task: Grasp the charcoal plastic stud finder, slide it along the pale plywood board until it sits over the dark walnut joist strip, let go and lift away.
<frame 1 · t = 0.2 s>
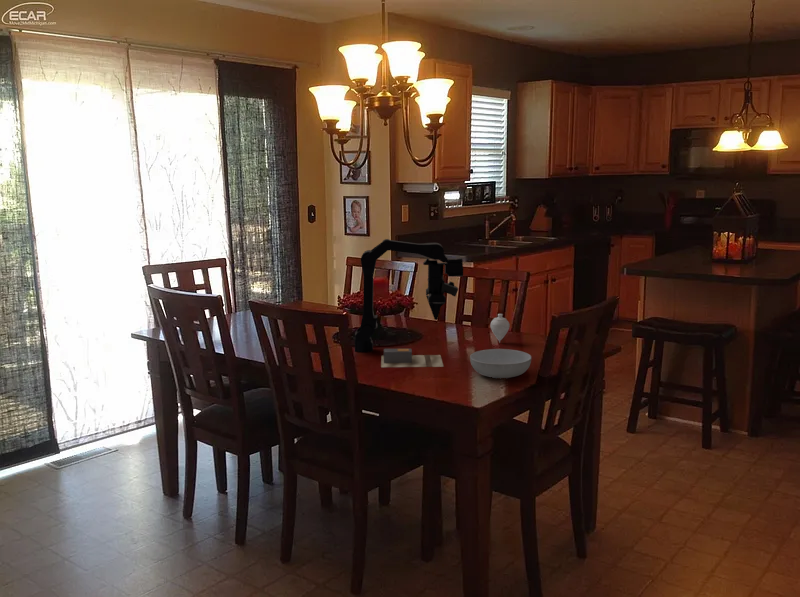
hand: (435, 317, 275), 14 cm above the table, fingers open, 9 cm apart
serving bowl: (500, 375, 249), on the table
stud finder: (397, 361, 262), point 1 cm above the table, touching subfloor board
spinning top: (499, 343, 295), on the table
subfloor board: (411, 364, 262), on the table
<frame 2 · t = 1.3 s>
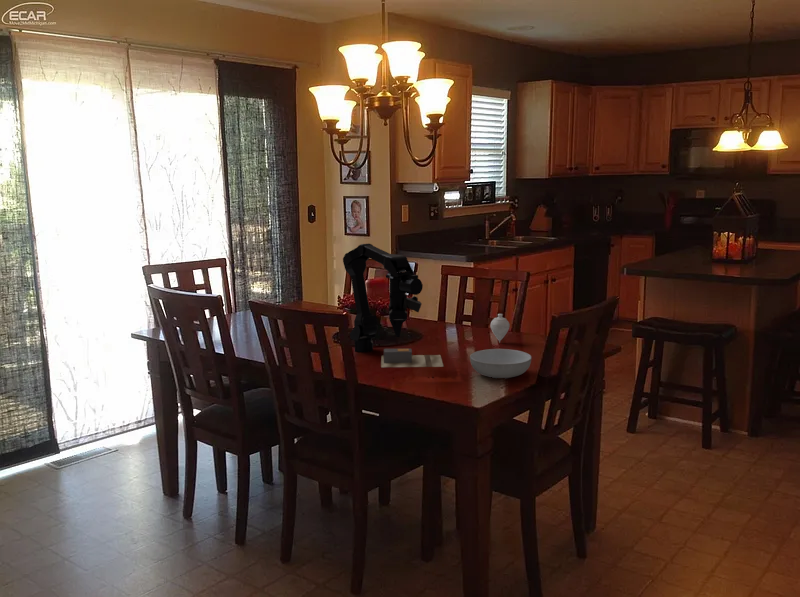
hand: (397, 334, 260), 12 cm above the table, fingers open, 9 cm apart
nothing on the table moved.
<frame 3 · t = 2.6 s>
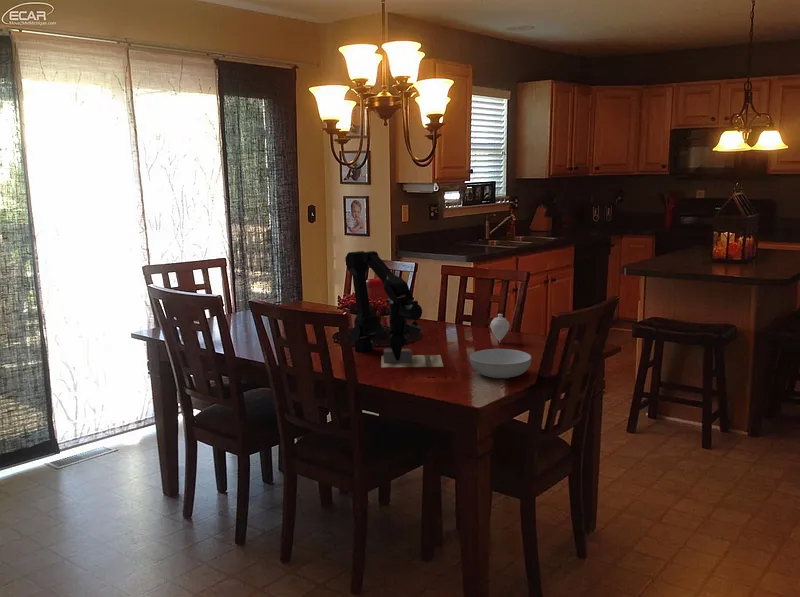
hand: (397, 358, 262), 3 cm above the table, fingers closed on stud finder, 5 cm apart
stud finder: (397, 361, 262), point 2 cm above the table, touching gripper, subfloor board
everything else where it was.
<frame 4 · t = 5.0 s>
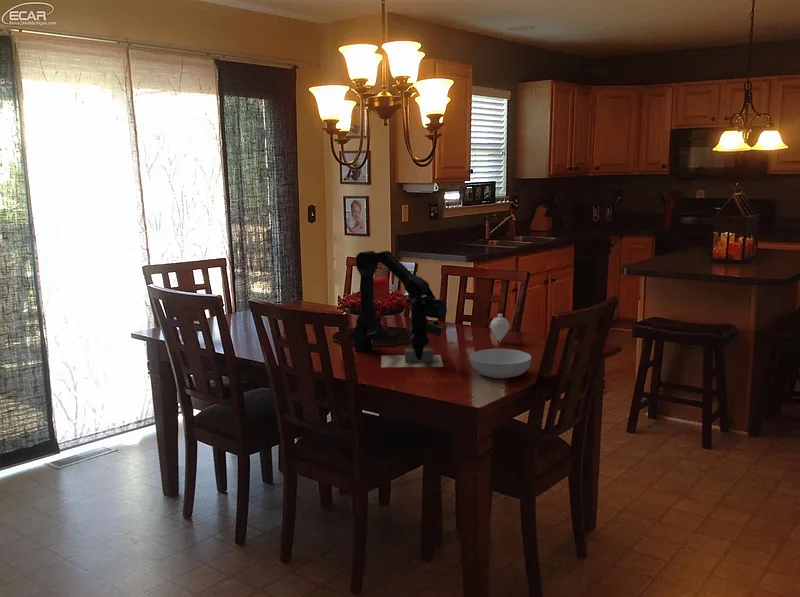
hand: (419, 357, 262), 3 cm above the table, fingers closed on stud finder, 5 cm apart
stud finder: (418, 360, 262), point 2 cm above the table, touching gripper
everything else where it was.
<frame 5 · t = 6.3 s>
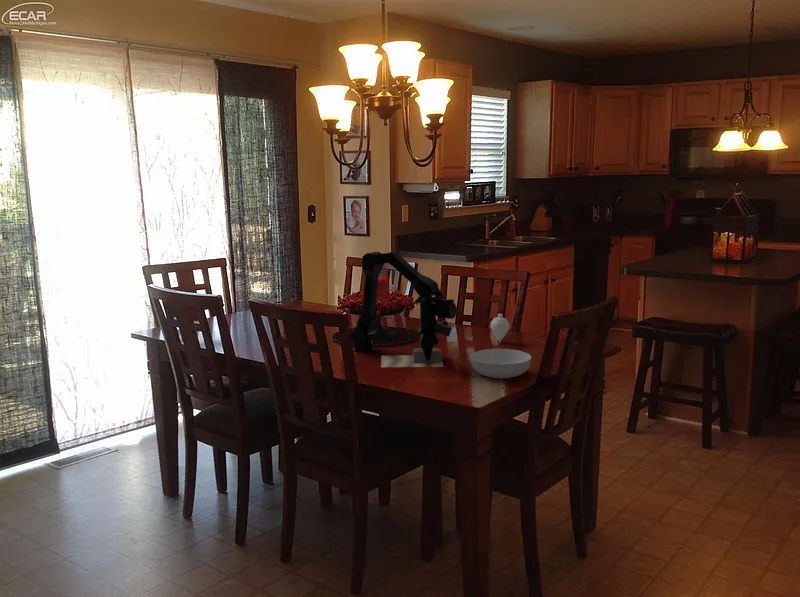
hand: (427, 358, 262), 3 cm above the table, fingers closed on stud finder, 5 cm apart
stud finder: (427, 360, 262), point 2 cm above the table, touching gripper, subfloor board
everything else where it was.
when the fingers open (3 cm above the table, at t = 7.2 s): stud finder stays where it is, resting on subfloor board.
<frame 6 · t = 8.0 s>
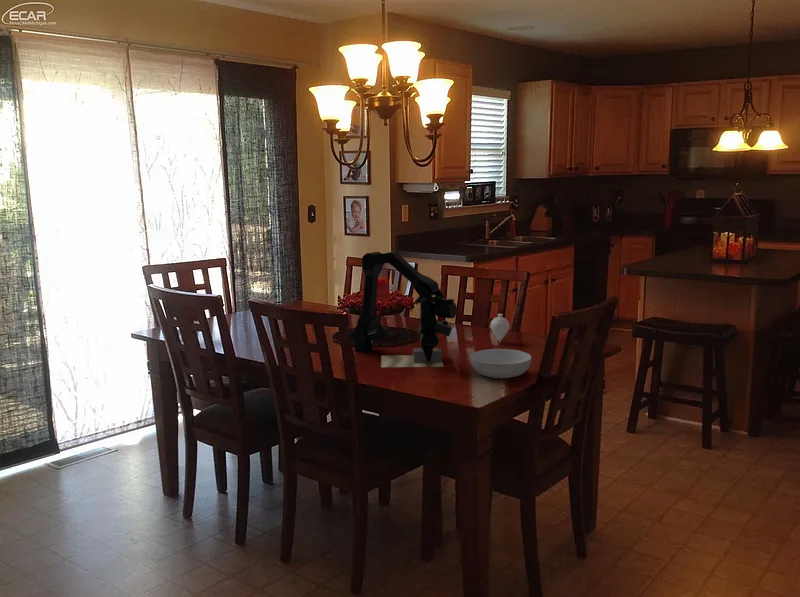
hand: (428, 357, 262), 3 cm above the table, fingers open, 9 cm apart
stud finder: (427, 360, 262), point 2 cm above the table, touching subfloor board
everything else where it was.
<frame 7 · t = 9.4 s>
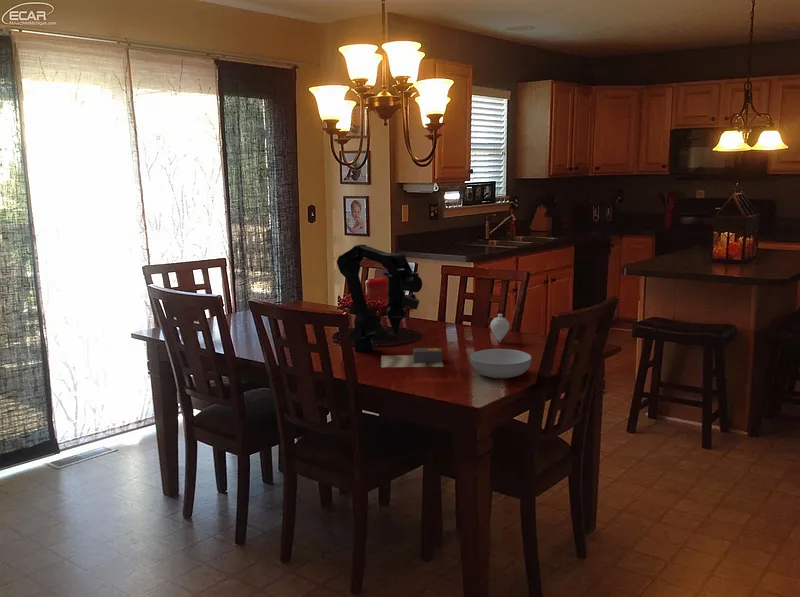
hand: (395, 330, 264), 12 cm above the table, fingers open, 9 cm apart
nothing on the table moved.
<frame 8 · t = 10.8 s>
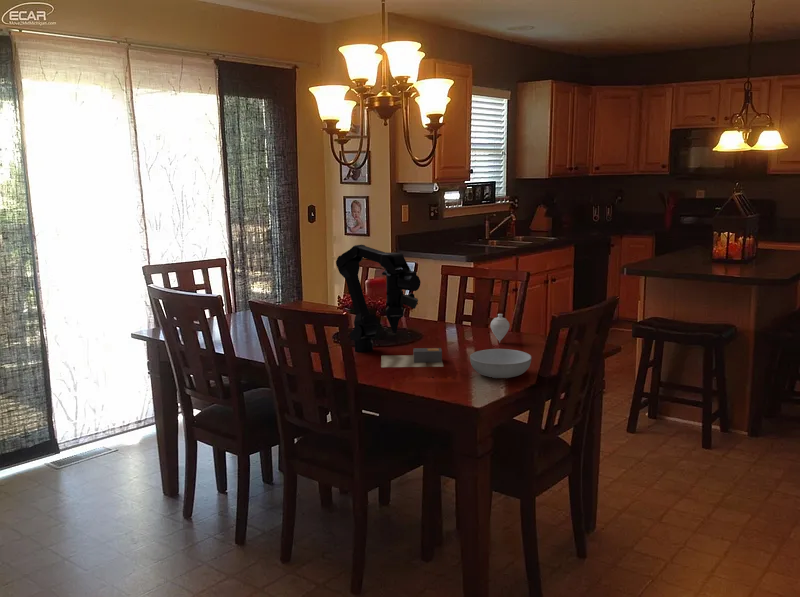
hand: (394, 330, 264), 12 cm above the table, fingers open, 9 cm apart
nothing on the table moved.
at the end: stud finder 0.2 cm from the target spot on the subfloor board, point 1.5 cm above the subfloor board's base; stud finder tilted 0°; the gripper is holding nothing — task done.
